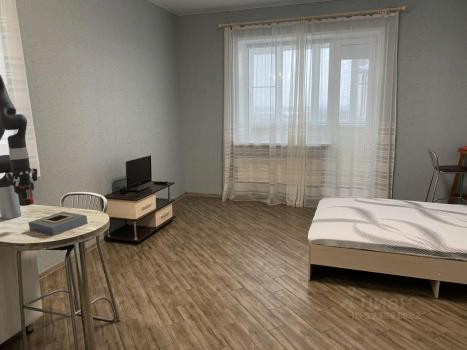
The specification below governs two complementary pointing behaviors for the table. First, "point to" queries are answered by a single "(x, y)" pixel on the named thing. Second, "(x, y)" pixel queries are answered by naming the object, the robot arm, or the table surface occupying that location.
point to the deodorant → (25, 190)
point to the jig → (57, 223)
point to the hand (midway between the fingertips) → (24, 191)
